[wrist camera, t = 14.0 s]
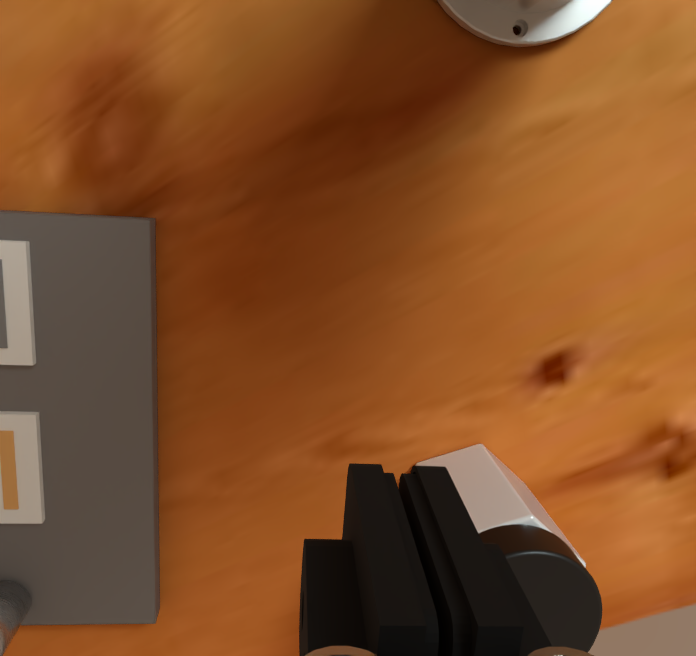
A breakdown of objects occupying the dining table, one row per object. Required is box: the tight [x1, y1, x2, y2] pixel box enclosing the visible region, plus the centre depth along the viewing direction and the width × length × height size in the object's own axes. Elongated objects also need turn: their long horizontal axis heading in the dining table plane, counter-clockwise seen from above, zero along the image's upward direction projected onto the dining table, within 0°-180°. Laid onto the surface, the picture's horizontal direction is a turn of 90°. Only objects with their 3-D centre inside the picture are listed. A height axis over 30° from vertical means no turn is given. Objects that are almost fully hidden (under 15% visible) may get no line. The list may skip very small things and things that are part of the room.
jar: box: [415, 444, 602, 653], centre depth 37 cm, size 9×8×12 cm
